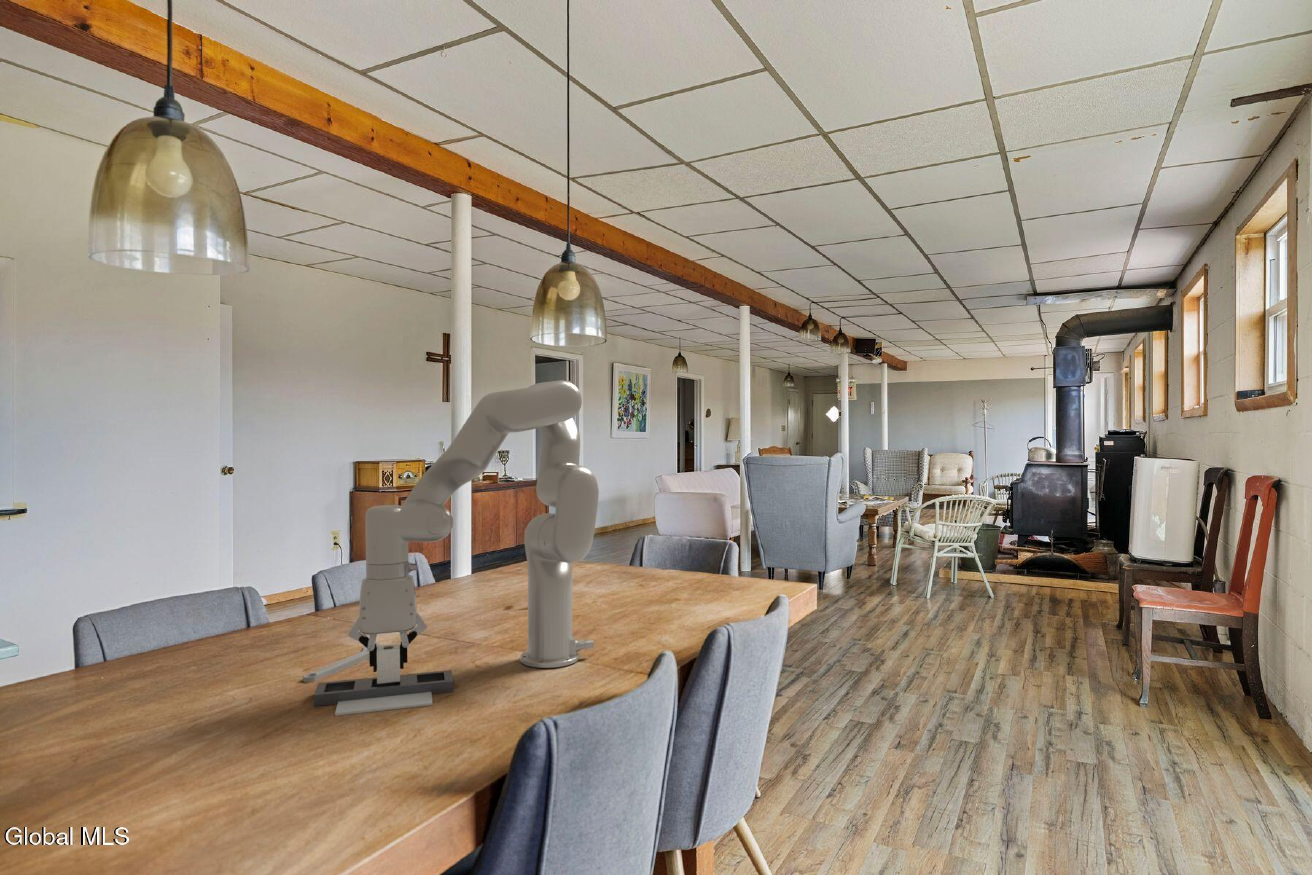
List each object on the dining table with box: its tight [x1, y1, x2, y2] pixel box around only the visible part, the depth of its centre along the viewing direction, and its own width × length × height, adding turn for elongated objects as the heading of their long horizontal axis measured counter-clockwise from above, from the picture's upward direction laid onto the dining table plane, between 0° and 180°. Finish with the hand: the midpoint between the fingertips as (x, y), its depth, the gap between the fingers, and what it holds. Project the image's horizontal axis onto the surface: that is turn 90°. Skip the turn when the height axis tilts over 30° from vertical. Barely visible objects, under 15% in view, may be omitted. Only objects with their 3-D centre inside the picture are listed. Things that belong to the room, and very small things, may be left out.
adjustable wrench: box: [302, 642, 397, 683], centre depth 154 cm, size 25×6×2 cm, turn 158°
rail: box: [313, 669, 454, 707], centre depth 136 cm, size 24×7×2 cm, turn 109°
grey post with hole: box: [376, 643, 401, 684], centre depth 136 cm, size 4×4×6 cm
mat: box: [334, 692, 433, 717], centre depth 129 cm, size 16×6×1 cm, turn 109°
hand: (388, 667), depth 136 cm, fingers closed on grey post with hole, 4 cm apart
